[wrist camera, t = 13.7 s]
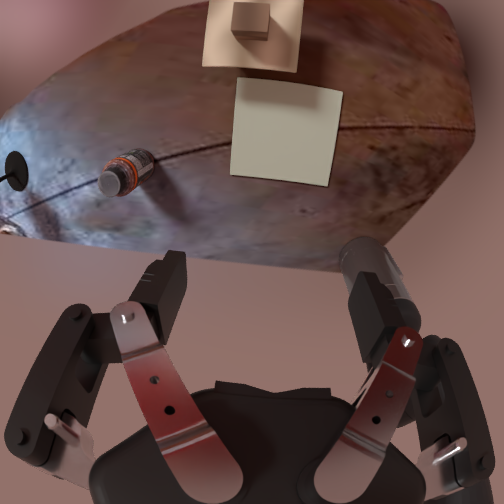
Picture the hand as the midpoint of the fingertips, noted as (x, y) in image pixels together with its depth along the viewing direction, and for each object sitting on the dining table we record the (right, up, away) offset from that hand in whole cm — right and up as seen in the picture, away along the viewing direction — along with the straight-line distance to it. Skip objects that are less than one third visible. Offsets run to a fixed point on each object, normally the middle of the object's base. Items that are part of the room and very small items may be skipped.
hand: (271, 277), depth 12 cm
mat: (+4, +20, +26) cm, 33 cm away
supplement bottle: (-20, +17, +30) cm, 40 cm away
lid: (-1, +30, +13) cm, 33 cm away
